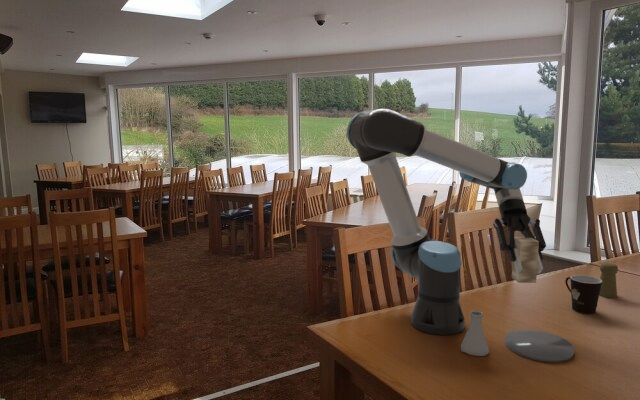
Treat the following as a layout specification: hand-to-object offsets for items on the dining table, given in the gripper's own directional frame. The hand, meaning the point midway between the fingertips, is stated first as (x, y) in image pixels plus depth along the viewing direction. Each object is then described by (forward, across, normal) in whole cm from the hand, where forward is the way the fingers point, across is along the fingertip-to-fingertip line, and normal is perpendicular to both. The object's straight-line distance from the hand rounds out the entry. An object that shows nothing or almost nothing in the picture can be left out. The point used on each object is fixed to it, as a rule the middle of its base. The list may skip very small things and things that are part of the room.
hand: (529, 270), depth 130 cm
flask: (+23, +19, -2) cm, 30 cm away
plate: (+21, +2, -3) cm, 21 cm away
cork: (-8, -38, -31) cm, 50 cm away
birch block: (0, 0, -5) cm, 5 cm away
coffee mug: (+1, -24, -22) cm, 32 cm away
